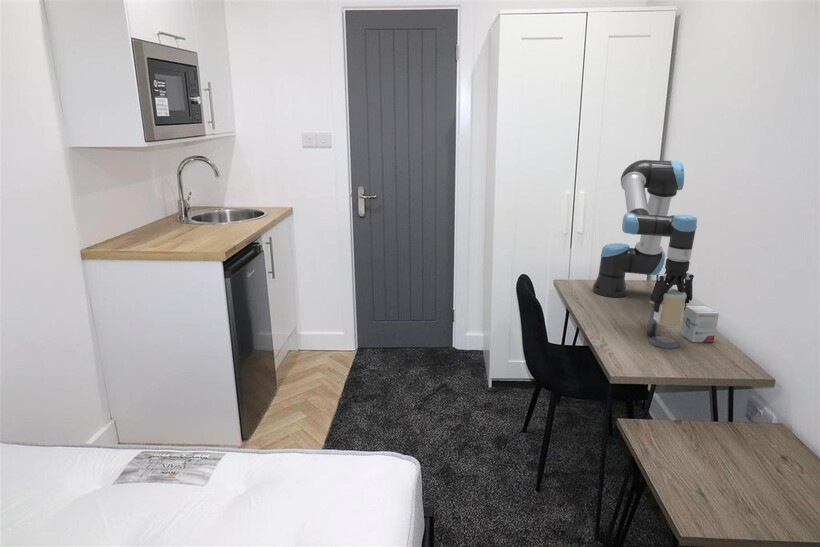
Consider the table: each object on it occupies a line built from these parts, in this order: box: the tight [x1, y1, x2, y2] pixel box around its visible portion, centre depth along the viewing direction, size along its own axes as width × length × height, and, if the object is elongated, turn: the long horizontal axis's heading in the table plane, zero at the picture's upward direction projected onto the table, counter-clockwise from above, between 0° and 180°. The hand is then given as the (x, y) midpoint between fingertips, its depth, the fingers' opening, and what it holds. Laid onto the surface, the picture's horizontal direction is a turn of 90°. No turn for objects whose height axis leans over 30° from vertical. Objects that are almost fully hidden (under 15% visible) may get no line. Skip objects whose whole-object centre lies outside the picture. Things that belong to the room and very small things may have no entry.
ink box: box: [680, 305, 720, 343], centre depth 205 cm, size 9×9×12 cm
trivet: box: [648, 335, 680, 350], centre depth 200 cm, size 10×10×1 cm
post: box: [645, 304, 659, 338], centre depth 205 cm, size 3×3×12 cm
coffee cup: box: [656, 287, 687, 328], centre depth 196 cm, size 9×9×12 cm
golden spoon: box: [649, 285, 655, 305], centre depth 209 cm, size 4×18×3 cm, turn 158°
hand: (667, 319), depth 198 cm, fingers closed on coffee cup, 9 cm apart
